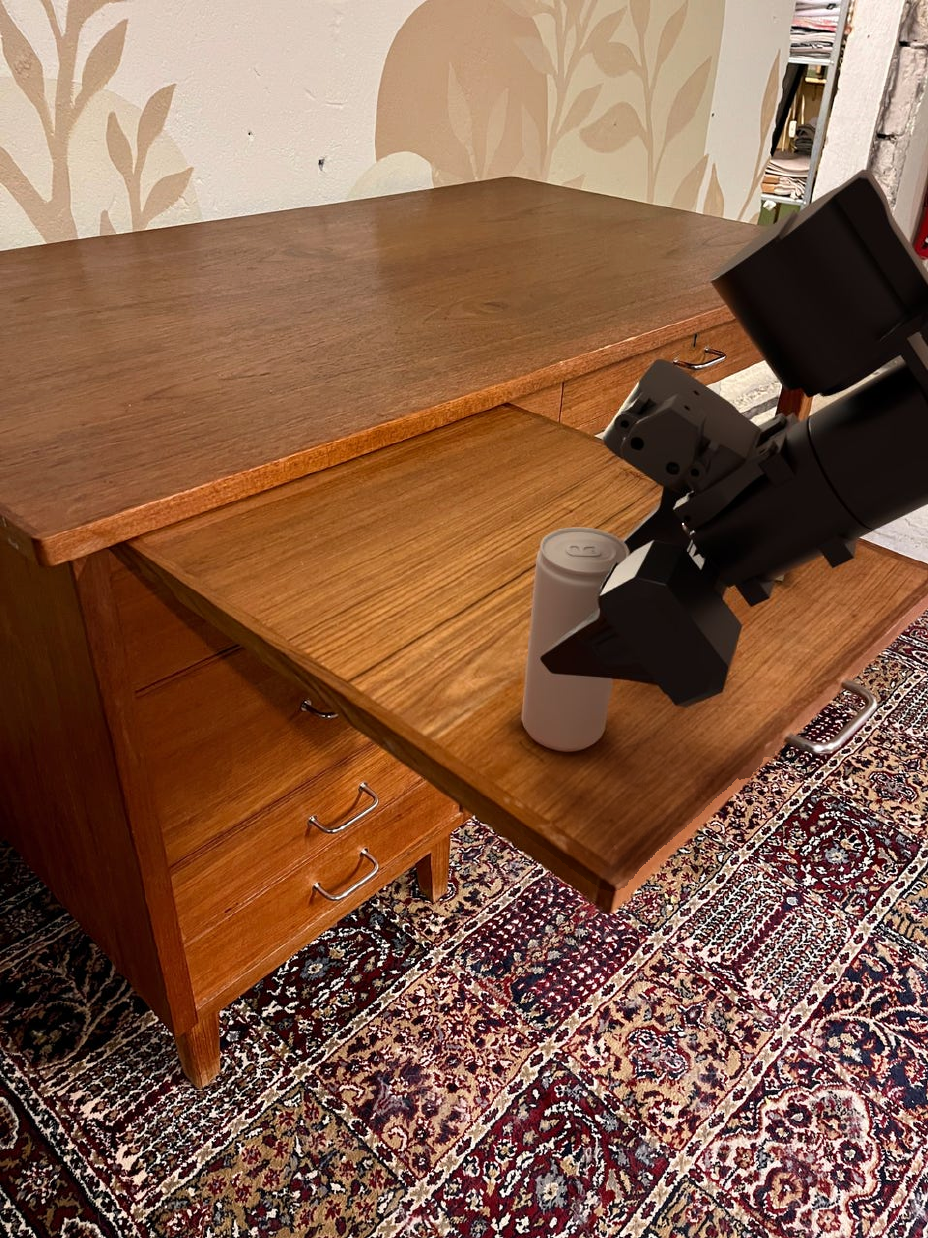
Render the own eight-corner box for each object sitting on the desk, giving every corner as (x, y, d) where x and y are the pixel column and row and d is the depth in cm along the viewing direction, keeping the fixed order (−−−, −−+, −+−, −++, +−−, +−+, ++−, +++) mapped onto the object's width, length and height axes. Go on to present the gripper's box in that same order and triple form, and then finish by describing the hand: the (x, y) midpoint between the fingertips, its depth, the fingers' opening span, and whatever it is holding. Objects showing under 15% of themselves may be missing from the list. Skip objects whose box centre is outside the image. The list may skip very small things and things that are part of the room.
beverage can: (608, 758, 54) (638, 575, 47) (521, 755, 54) (539, 571, 47) (599, 703, 58) (626, 527, 51) (519, 700, 58) (535, 523, 51)
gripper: (770, 268, 47) (539, 433, 57) (692, 392, 33) (401, 585, 43) (891, 447, 50) (649, 578, 59) (868, 638, 35) (553, 770, 45)
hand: (573, 617), depth 51 cm, fingers open, 9 cm apart
